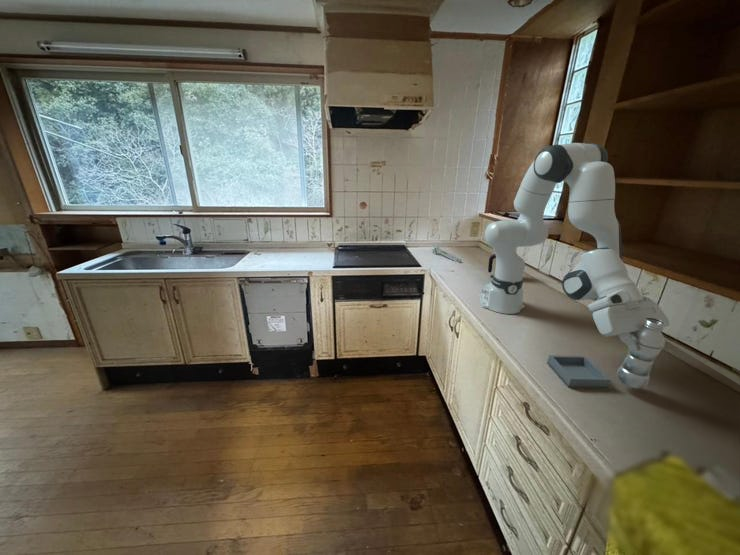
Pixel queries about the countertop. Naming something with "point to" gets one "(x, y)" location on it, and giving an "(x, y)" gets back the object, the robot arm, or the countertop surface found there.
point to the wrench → (444, 252)
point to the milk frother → (491, 263)
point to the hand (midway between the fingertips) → (646, 348)
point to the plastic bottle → (642, 354)
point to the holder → (578, 372)
